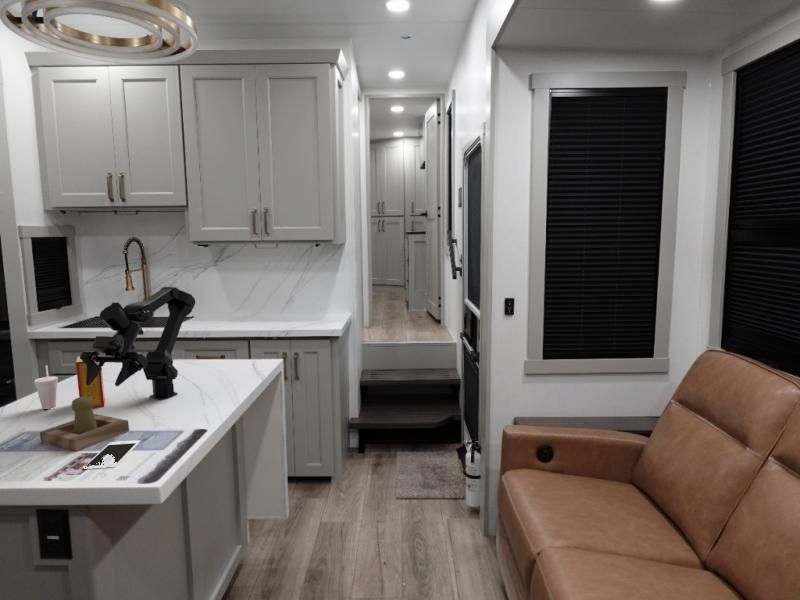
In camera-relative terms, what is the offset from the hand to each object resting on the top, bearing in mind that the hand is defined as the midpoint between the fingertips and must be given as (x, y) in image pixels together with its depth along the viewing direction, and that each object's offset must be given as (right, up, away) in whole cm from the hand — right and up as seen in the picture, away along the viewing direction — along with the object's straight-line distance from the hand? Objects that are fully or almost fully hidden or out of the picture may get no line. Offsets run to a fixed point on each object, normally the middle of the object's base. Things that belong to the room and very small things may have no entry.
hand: (101, 385), depth 148 cm
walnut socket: (-1, -13, -6) cm, 14 cm away
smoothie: (-28, -11, +19) cm, 35 cm away
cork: (-1, -13, -6) cm, 15 cm away
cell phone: (+13, -15, -18) cm, 27 cm away
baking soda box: (-15, -10, +22) cm, 28 cm away
